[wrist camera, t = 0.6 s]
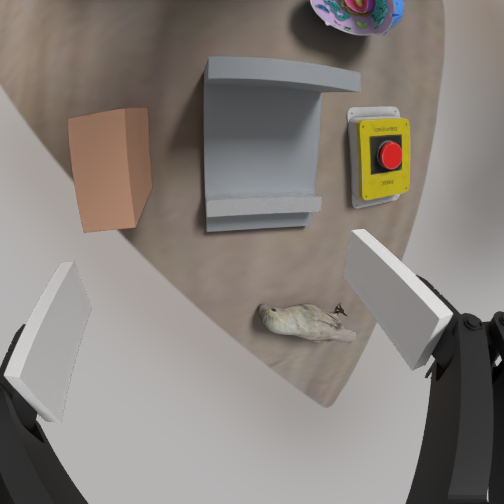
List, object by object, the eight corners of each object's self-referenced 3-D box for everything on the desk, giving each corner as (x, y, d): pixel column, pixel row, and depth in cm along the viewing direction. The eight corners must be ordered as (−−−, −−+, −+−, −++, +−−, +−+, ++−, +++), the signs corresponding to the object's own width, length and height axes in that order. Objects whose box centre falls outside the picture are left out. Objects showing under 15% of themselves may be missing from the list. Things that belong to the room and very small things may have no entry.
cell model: (287, -18, 22) (317, -47, 14) (363, -18, 22) (404, -36, 14) (311, 46, 27) (349, 32, 19) (384, 40, 28) (430, 33, 20)
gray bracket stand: (203, 71, 27) (208, 56, 19) (318, 77, 30) (361, 73, 21) (206, 228, 37) (212, 269, 28) (307, 222, 40) (339, 257, 31)
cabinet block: (107, 113, 27) (67, 119, 17) (147, 107, 28) (124, 108, 18) (115, 197, 32) (85, 240, 22) (153, 193, 33) (137, 235, 23)
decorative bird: (263, 290, 44) (276, 323, 38) (344, 300, 49) (363, 327, 43) (252, 316, 46) (263, 349, 40) (331, 322, 52) (347, 350, 45)
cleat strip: (205, 194, 33) (206, 200, 31) (314, 190, 36) (321, 196, 34) (205, 209, 34) (207, 217, 32) (312, 205, 37) (320, 211, 35)
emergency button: (415, 109, 30) (414, 208, 38) (396, 106, 34) (397, 198, 41) (361, 109, 29) (365, 220, 37) (344, 107, 33) (350, 208, 40)
